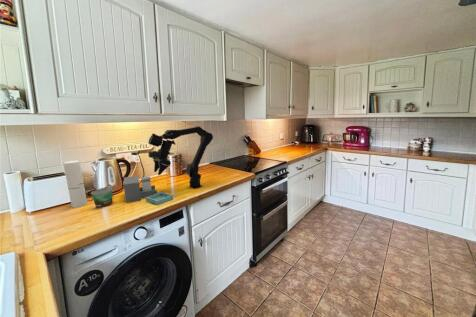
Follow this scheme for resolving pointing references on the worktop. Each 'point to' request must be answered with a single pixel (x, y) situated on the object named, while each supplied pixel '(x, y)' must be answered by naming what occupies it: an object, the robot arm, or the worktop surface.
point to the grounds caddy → (146, 183)
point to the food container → (103, 196)
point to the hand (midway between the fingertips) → (156, 173)
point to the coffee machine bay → (136, 190)
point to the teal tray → (159, 198)
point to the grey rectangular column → (75, 183)
